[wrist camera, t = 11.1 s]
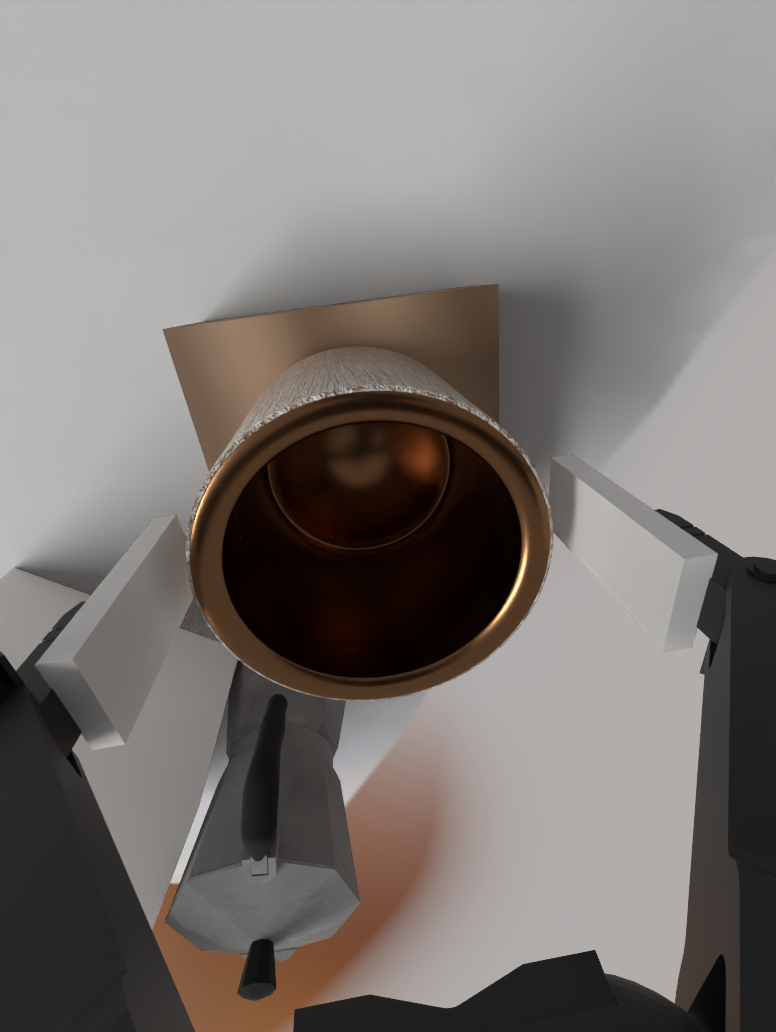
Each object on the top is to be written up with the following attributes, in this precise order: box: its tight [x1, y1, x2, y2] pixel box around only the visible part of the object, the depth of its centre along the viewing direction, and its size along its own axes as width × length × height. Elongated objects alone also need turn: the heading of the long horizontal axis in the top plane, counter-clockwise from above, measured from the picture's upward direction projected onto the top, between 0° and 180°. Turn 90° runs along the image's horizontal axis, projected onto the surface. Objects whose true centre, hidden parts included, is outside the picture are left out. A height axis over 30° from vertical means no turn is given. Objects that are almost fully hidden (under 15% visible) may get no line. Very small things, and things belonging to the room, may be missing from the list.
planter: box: [186, 346, 553, 701], centre depth 17 cm, size 11×11×10 cm
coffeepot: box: [165, 661, 360, 1001], centre depth 27 cm, size 15×9×18 cm, turn 175°
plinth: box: [163, 284, 499, 472], centre depth 24 cm, size 14×14×6 cm
